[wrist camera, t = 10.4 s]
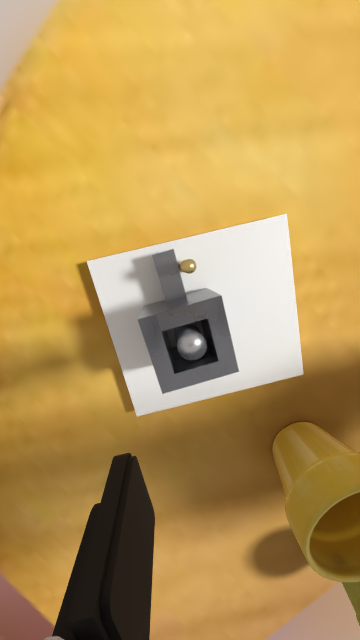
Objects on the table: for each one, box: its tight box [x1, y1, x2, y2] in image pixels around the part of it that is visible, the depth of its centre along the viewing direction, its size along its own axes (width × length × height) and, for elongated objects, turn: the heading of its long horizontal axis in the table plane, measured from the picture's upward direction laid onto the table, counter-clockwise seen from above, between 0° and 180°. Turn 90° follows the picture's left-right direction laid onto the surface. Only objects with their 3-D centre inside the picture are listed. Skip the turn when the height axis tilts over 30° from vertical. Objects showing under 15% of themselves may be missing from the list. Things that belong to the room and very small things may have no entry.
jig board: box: [87, 214, 303, 416], centre depth 22 cm, size 18×16×1 cm
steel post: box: [174, 322, 207, 360], centre depth 19 cm, size 2×2×5 cm
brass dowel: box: [178, 259, 196, 274], centre depth 18 cm, size 1×1×4 cm
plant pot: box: [272, 422, 360, 582], centre depth 23 cm, size 10×10×10 cm
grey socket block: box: [138, 249, 239, 394], centre depth 18 cm, size 10×6×6 cm, turn 15°
